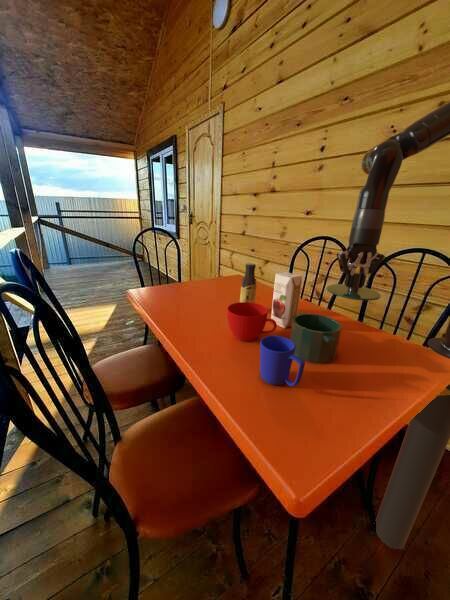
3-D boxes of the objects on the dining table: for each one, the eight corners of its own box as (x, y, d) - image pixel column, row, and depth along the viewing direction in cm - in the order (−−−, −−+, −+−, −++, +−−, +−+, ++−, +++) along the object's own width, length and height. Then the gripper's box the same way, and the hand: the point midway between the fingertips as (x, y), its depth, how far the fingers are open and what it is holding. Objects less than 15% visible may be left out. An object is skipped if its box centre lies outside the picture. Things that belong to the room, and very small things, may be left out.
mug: (285, 403, 55) (291, 364, 52) (250, 375, 65) (253, 340, 62) (310, 390, 60) (316, 353, 57) (274, 365, 69) (278, 332, 66)
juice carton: (281, 317, 101) (286, 270, 95) (298, 325, 95) (305, 275, 88) (267, 321, 97) (272, 273, 91) (285, 330, 90) (291, 278, 84)
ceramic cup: (263, 355, 74) (266, 324, 71) (218, 337, 83) (219, 309, 80) (282, 339, 84) (286, 311, 80) (240, 325, 93) (241, 299, 90)
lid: (359, 287, 84) (363, 267, 82) (392, 302, 70) (398, 279, 68) (317, 287, 82) (321, 267, 80) (342, 302, 68) (347, 278, 66)
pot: (318, 335, 87) (322, 309, 84) (350, 367, 69) (357, 336, 66) (279, 336, 85) (282, 310, 82) (303, 370, 68) (308, 338, 65)
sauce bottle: (245, 314, 103) (248, 266, 97) (236, 309, 108) (238, 263, 101) (257, 311, 107) (261, 264, 100) (247, 306, 112) (250, 261, 105)
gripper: (351, 226, 65) (338, 290, 71) (400, 228, 67) (384, 290, 73) (335, 225, 72) (325, 283, 78) (380, 226, 74) (367, 283, 80)
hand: (353, 286), depth 75 cm, fingers closed on lid, 3 cm apart
